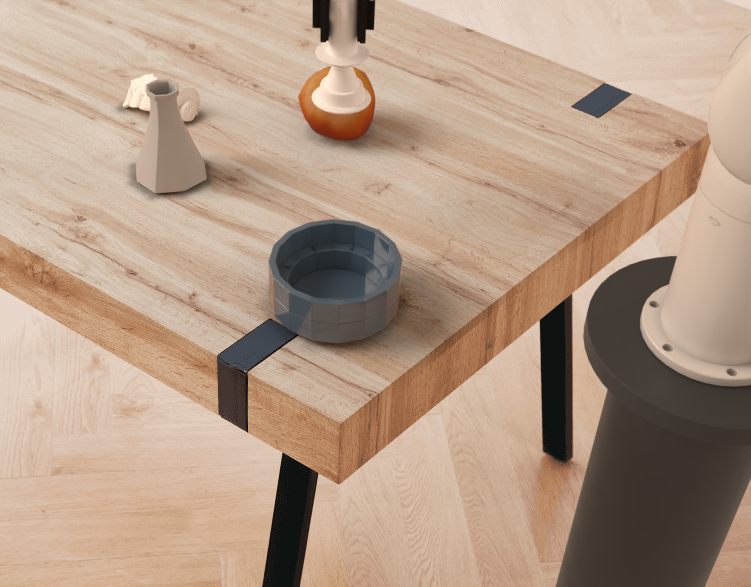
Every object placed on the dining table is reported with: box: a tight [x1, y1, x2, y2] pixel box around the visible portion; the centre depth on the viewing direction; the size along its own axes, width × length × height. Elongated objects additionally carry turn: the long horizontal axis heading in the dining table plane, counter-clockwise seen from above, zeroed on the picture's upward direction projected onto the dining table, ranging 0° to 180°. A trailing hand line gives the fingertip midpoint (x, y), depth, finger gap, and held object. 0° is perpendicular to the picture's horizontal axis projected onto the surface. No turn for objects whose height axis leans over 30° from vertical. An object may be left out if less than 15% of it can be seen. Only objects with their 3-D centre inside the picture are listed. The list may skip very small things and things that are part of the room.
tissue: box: [122, 73, 201, 122], centre depth 116 cm, size 6×8×4 cm
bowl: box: [268, 218, 403, 344], centre depth 93 cm, size 11×11×5 cm
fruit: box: [298, 65, 376, 142], centre depth 114 cm, size 8×8×8 cm
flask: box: [135, 78, 208, 194], centre depth 105 cm, size 7×7×10 cm
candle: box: [312, 0, 371, 114], centre depth 93 cm, size 5×5×12 cm
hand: (343, 33), depth 93 cm, fingers closed on candle, 2 cm apart
